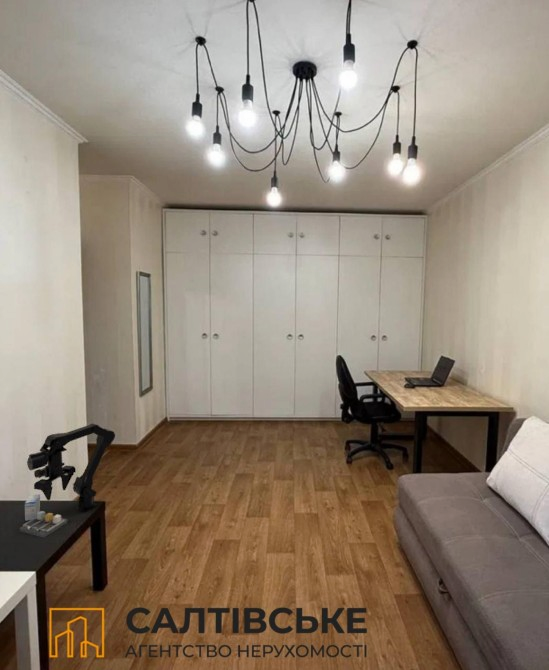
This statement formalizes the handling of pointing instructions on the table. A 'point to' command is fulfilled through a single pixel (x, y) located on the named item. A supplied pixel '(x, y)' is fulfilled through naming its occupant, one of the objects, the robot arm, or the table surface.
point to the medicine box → (32, 507)
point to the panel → (41, 527)
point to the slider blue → (40, 515)
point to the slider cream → (56, 519)
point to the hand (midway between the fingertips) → (56, 494)
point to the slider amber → (48, 517)
